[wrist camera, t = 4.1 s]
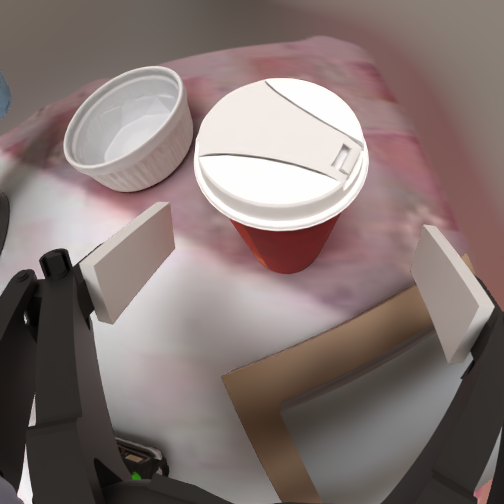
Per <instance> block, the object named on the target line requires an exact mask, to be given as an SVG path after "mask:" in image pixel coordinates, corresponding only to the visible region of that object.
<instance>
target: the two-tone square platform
mask: <svg viewBox="0 0 504 504" xmlns="http://www.w3.org/2000/svg"><path fill="white" fill-rule="evenodd" d="M461 259H462V260H463V261H464V263H465V264H466V265H467V267H468V268H469V269H470V271H471V272H472V274H474V275H475V276H477V275H476V273H475V271H474V269H473V266H472V264H471V262H470V260H469V258H468V256H467V254H464V255H462V256H461ZM472 360H473V357H472V354H471V352H470V353H469V354H468V356H467V358H466V359H465V361H464V362H463V363H453V364H448V362H447V359H446V356H445V353H444V351H443V348H442V345H441V342H440V340H439V337H438V334H437V332H436V329H435V327H434V324H433V322H432V319H431V317H430V314H429V312H428V309H427V307H426V305H425V302H424V300H423V298H422V296H421V293H420V291H419V289H418V287H417V284H416V283H415V284H414V285H412V286H410V287H409V288H407V289H405V290H403V291H402V292H400V293H398V294H396V295H395V296H393V297H391V298H389V299H387V300H386V301H384V302H382V303H380V304H378V305H376V306H375V307H373V308H371V309H369V310H367V311H365V312H363V313H361V314H359V315H357V316H355V317H353V318H352V319H350V320H348V321H346V322H344V323H342V324H339V325H337V326H335V327H333V328H331V329H329V330H327V331H325V332H323V333H321V334H319V335H316V336H314V337H312V338H310V339H308V340H306V341H303V342H301V343H299V344H297V345H294V346H292V347H290V348H287V349H285V350H283V351H280V352H278V353H276V354H273V355H271V356H268V357H266V358H263V359H261V360H258V361H256V362H253V363H251V364H248V365H246V366H243V367H241V368H238V369H235V370H233V371H231V372H229V373H227V374H225V375H224V376H222V380H223V382H224V384H225V387H226V389H227V391H228V394H229V396H230V398H231V400H232V403H233V405H234V407H235V409H236V412H237V414H238V416H239V418H240V420H241V423H242V425H243V427H244V429H245V431H246V433H247V435H248V437H249V439H250V442H251V444H252V446H253V448H254V450H255V452H256V454H257V456H258V458H259V460H260V462H261V464H262V466H263V468H264V470H265V472H266V473H267V475H268V477H269V479H270V481H271V483H272V485H273V487H274V489H275V490H276V492H277V494H278V496H279V498H280V500H281V501H282V503H284V502H298V503H320V504H381V503H382V502H383V501H384V500H385V499H386V497H387V496H388V495H389V494H390V493H391V492H392V490H393V489H394V488H395V487H396V485H397V484H398V483H399V482H400V480H401V479H402V478H403V477H404V475H405V474H406V473H407V471H408V470H409V469H410V467H411V466H412V465H413V463H414V462H415V460H416V459H417V458H418V456H419V455H420V453H421V452H422V450H423V449H424V447H425V446H426V444H427V443H428V441H429V440H430V438H431V436H432V435H433V433H434V432H435V430H436V428H437V427H438V425H439V423H440V422H441V420H442V418H443V416H444V415H445V413H446V411H447V409H448V407H449V405H450V404H451V402H452V400H453V398H454V396H455V394H456V392H457V390H458V388H459V386H460V384H461V382H462V380H463V379H460V378H461V376H462V375H463V373H464V372H465V371H466V369H467V368H468V366H469V365H470V363H471V362H472ZM501 432H502V428H501V431H500V433H499V436H498V439H497V441H496V444H495V447H494V449H493V452H492V454H491V456H490V459H489V461H488V463H487V465H486V468H485V470H484V472H483V474H482V476H481V478H480V480H479V482H478V484H477V486H476V488H475V491H477V490H478V489H479V488H480V487H482V486H483V485H484V484H485V483H487V482H488V481H489V480H490V479H491V478H493V477H494V473H495V468H496V463H497V458H498V452H499V446H500V439H501ZM475 491H474V492H475Z"/></svg>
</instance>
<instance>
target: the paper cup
mask: <svg viewBox="0 0 504 504" xmlns="http://www.w3.org/2000/svg"><path fill="white" fill-rule="evenodd" d="M368 164H369V161H368V150H367V146H366V142H365V139H364V137H363V133H362V130H361V126H360V124H359V122H358V120H357V118H356V116H355V114H354V113H353V111H352V110H351V109H350V107H349V106H348V105H347V104H346V103H345V102H344V101H343V100H342V99H341V98H339V97H338V96H337V95H335V94H334V93H333V92H331V91H329V90H327V89H325V88H324V87H321V86H319V85H316V84H314V83H310V82H307V81H303V80H297V79H287V78H275V79H265V80H261V81H258V82H255V83H252V84H249V85H246V86H243V87H241V88H238V89H236V90H234V91H232V92H231V93H229V94H227V95H226V96H225V97H223V98H222V99H221V100H220V101H219V102H218V103H217V104H216V105H215V106H214V107H213V108H212V109H211V111H210V112H209V113H208V114H207V115H206V117H205V118H204V120H203V122H202V124H201V126H200V130H199V134H198V136H197V138H196V145H195V155H194V170H195V175H196V178H197V182H198V184H199V186H200V188H201V190H202V192H203V194H204V195H205V196H206V198H207V199H208V200H209V202H210V203H211V204H212V205H213V206H214V207H215V208H216V209H218V210H219V211H220V212H221V213H223V214H224V215H226V216H227V217H229V219H230V220H231V222H232V223H233V225H234V226H235V228H236V229H237V230H238V232H239V233H240V235H241V236H242V238H243V239H244V241H245V242H246V244H247V245H248V246H249V248H250V249H251V251H252V252H253V253H254V255H255V256H256V257H257V259H258V260H259V261H260V262H261V263H262V264H263V265H264V266H265V267H267V268H268V269H270V270H272V271H274V272H277V273H282V274H291V273H296V272H299V271H301V270H303V269H305V268H306V267H308V266H309V265H310V264H311V263H312V262H313V261H314V260H315V258H316V257H317V255H318V254H319V252H320V251H321V249H322V247H323V245H324V244H325V242H326V240H327V238H328V236H329V234H330V233H331V231H332V229H333V227H334V225H335V223H336V221H337V219H338V217H339V215H340V214H341V212H342V211H343V210H344V209H345V208H347V207H348V206H349V205H350V203H351V202H352V201H353V200H354V199H355V198H356V197H357V195H358V193H359V192H360V190H361V188H362V187H363V184H364V181H365V179H366V176H367V171H368Z"/></svg>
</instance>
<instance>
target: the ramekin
mask: <svg viewBox="0 0 504 504" xmlns="http://www.w3.org/2000/svg"><path fill="white" fill-rule="evenodd" d="M192 139H193V123H192V118H191V114H190V110H189V107H188V103H187V91H186V88H185V85H184V83H183V81H182V79H181V78H180V76H179V75H178V74H177V73H176V72H175V71H173V70H171V69H169V68H166V67H161V66H149V67H143V68H138V69H134V70H132V71H129V72H126V73H124V74H122V75H119V76H117V77H115V78H114V79H112V80H110V81H109V82H107V83H106V84H104V85H103V86H101V87H100V88H99V89H97V90H96V91H95V92H94V93H93V94H92V95H91V96H89V97H88V98H87V99H86V101H85V102H84V103H83V104H82V105H81V106H80V108H79V109H78V110H77V112H76V113H75V115H74V116H73V118H72V120H71V121H70V124H69V126H68V128H67V130H66V134H65V138H64V154H65V157H66V159H67V160H68V162H69V163H70V164H71V165H72V166H73V167H74V168H75V169H76V170H78V171H79V172H81V173H84V174H87V175H89V176H91V177H92V178H94V179H95V180H96V181H98V182H100V183H101V184H103V185H104V186H106V187H108V188H110V189H112V190H116V191H120V192H133V191H138V190H142V189H145V188H148V187H150V186H153V185H155V184H157V183H158V182H160V181H162V180H163V179H165V178H166V177H167V176H168V175H170V174H171V173H172V172H173V171H174V170H175V169H176V168H177V167H178V165H179V164H180V163H181V162H182V160H183V158H184V157H185V156H186V154H187V152H188V150H189V147H190V145H191V142H192Z"/></svg>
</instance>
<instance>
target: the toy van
mask: <svg viewBox="0 0 504 504" xmlns="http://www.w3.org/2000/svg"><path fill="white" fill-rule="evenodd" d="M115 439H116V442H117V446H118V449H119V452H120V455H121V458H122V460H123V462H124V464H125V466H126V467H127V469H128V471H129V472H130V474H131V476H132V478H133V480H137V479H149V480H151V479H152V477H153V475H154V473H157V474H160V475H162V476H165V477H168V474H169V467H168V465H167V462H166V459H165V458H164V457H162V455H161V452H160V451H159V450H158V449H155V448H153V447H149V446H146V445H142V444H139V443H135V442H132V441H129V440H125V439H122V438H119V437H115ZM32 503H33V504H35V502H34V497H33V498H32Z"/></svg>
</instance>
